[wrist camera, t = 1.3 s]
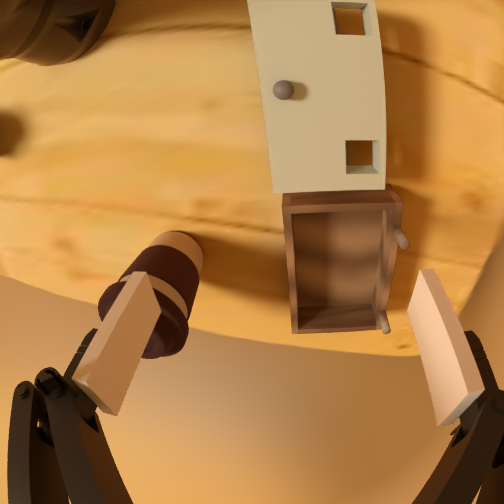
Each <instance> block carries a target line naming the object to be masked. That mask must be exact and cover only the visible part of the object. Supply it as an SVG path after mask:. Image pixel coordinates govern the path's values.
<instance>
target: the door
mask: <svg viewBox="0 0 504 504" xmlns="http://www.w3.org/2000/svg"><path fill="white" fill-rule="evenodd" d="M247 4H248V10H249V16H250V22H251V29H252V35H253V41H254V48H255V55H256V61H257V68H258V75H259V82H260V89H261V97H262V104H263V112H264V119H265V127H266V135H267V143H268V151H269V159H270V167H271V176H272V185H273V193H274V194H278V193H295V192H315V191H341V190H385V178H386V101H385V83H384V69H383V58H382V48H381V40H380V32H379V25H378V18H377V12H376V6H375V0H247ZM332 8H350V9H361V10H362V17H363V23H364V30H365V35H336V32H335V25H334V18H333V12H332ZM345 140H372V144H373V162H372V165H346V150H345Z"/></svg>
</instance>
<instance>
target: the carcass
mask: <svg viewBox="0 0 504 504" xmlns="http://www.w3.org/2000/svg"><path fill="white" fill-rule="evenodd" d="M402 210H403V202H402V200H401V199H400V197H399V196H398V195H397V193H396V192H395V191H394V189H393V188H392V187H391V185H390V184H385V190H341V191H315V192H295V193H283V199H282V213H283V224H284V235H285V246H286V258H287V270H288V283H289V297H290V311H291V326H292V334H305V333H331V332H350V331H365V330H378V329H382V331H383V334H388V333H390V332H391V329H390V325H389V322H388V318H387V314H386V308H387V303H388V299H389V294H390V289H391V284H392V279H393V273H394V267H395V261H396V255H397V249H398V243H399V245H400V247H401V249H402V250H406V249H408V248H409V247H410V243H409V241H408V239H407V237H406V235H405V234H404V232H403V230H402V228H401V219H402Z"/></svg>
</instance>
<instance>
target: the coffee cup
mask: <svg viewBox="0 0 504 504" xmlns="http://www.w3.org/2000/svg"><path fill="white" fill-rule="evenodd" d="M202 266H203V253H202V250H201V248H200V246H199V245H198V244H197V242H196V241H195V240H194V239H192V238H191V237H190V236H188V235H186V234H184V233H181V232H176V231H170V232H165V233H162V234H161V235H159V236H158V237H157V238H156V239H155V240H154V241H153V242H152V243H151V245H150V246H149V247H148V248H146V249H145V250H144V251H142V252H141V254H140V255H139V256H138V257H137V258H136V259H135V261H134V262H133V263H132V264H131V265H130V266H129V268H128V269H127V270H126V271H125V272H124V274H123V275H122V276H121V277H120V279H119V280H118V282H116V283H114V284H112V285H111V286H109V287H108V288H107V289H106V290H105V292H104V293H103V295H102V296H101V298H100V300H99V303H98V311H99V316H100V318H101V321H102V322H103V320H104V318H105V317H106V315H107V313H108V312H109V310H110V308H111V307H112V305H113V303H114V302H115V300H116V298H117V297H118V295H119V294H120V292H121V290H122V289H123V287H124V286H125V284H126V282H127V281H128V279H129V278H130V276H131V275H132V273H133V272H146V273H147V275H148V278H149V281H150V283H151V286H152V289H153V291H154V294H155V296H156V299H157V301H158V304H159V306H160V309H161V313H160V316H159V318H158V320H157V322H156V324H155V327H154V329H153V331H152V333H151V336H150V338H149V340H148V343H147V345H146V347H145V349H144V352H143V354H142V356H141V358H145V359H154V358H159V357H165V356H171V355H174V354H176V353H178V352H179V351H180V350H181V349H182V348H183V347H184V345H185V342H186V339H187V336H188V332H189V331H188V330H189V327H188V322H187V321H188V319H189V317H190V313H191V310H192V306H193V303H194V299H195V296H196V292H197V289H198V285H199V276H200V273H201V269H202Z"/></svg>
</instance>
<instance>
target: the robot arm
mask: <svg viewBox="0 0 504 504" xmlns="http://www.w3.org/2000/svg"><path fill="white" fill-rule="evenodd" d="M114 5H115V0H0V60H4V59H9V58H16V59H19V60H22V61H26V62H29V63H33V64H36V65H40V66H52V65H59V64H64V63H67V62H70V61H72V60H74V59H76V58H77V57H79V56H80V55H82V54H83V53H84V52H85V51H87V50H88V49H89V48H90V47H91V46H92V45H93V44H94V42H95V41H96V40H97V39H98V37H99V36H100V35H101V33H102V32H103V30H104V28H105V27H106V25H107V23H108V21H109V19H110V16H111V14H112V11H113V8H114ZM160 313H161V309H160V306H159V304H158V301H157V299H156V296H155V294H154V291H153V289H152V286H151V283H150V281H149V278H148V275H147V273H146V272H133V273H132V275H131V276H130V278H129V279H128V281H127V282H126V284H125V286H124V287H123V289H122V290H121V292H120V294H119V295H118V297H117V298H116V300H115V302H114V303H113V305H112V307H111V308H110V310H109V312H108V313H107V315H106V317H105V318H104V320H103V322H102V324H101V325H100V327H99V329H94V328H93V329H92V330H91V331H90V332H89V333H88V334H87V335H86V336H85V338H84V340H83V341H82V343H81V346H80V347H79V348H78V350H77V353H76V354H75V355H74V357H73V359H72V361H71V363H70V364H69V366H68V368H67V370H66V372H65V374H64V376H63V377H62V376H61V375H60V374H59V372H58V371H57V370H56V369H54V368H52V367H48V368H44V369H43V370H41V371H40V372H39V373H38V374H37V376H36V378H35V383H34V385H35V386H36V387H35V386H34V385H33V384H32V383H31V382H29V381H23V382H21V383H20V384H18V385H17V387H16V389H15V391H14V395H13V402H12V409H11V418H10V427H9V440H8V467H7V473H8V474H7V475H8V476H7V479H8V503H9V504H69V499H70V501H71V504H133V502H132V500H131V498H130V496H129V494H128V492H127V489H126V487H125V485H124V483H123V481H122V478H121V476H120V474H119V471H118V469H117V467H116V464H115V462H114V459H113V457H112V454H111V452H110V449H109V446H108V444H107V441H106V438H105V436H104V432H103V430H102V427H101V424H100V421H99V417H98V415H97V413H96V412H95V410H96V408H97V406H98V407H99V408H100V409H101V410H102V411H103V412H104V413H107V414H111V415H114V416H117V415H118V413H119V410H120V408H121V405H122V402H123V400H124V398H125V395H126V393H127V390H128V387H129V385H130V383H131V380H132V378H133V375H134V373H135V371H136V368H137V366H138V363H139V361H140V358H141V356H142V354H143V352H144V349H145V347H146V345H147V343H148V340H149V338H150V336H151V333H152V331H153V329H154V327H155V324H156V322H157V320H158V318H159V316H160ZM407 313H408V316H409V319H410V322H411V325H412V328H413V332H414V335H415V338H416V341H417V345H418V348H419V352H420V355H421V358H422V362H423V366H424V370H425V374H426V378H427V382H428V386H429V390H430V394H431V398H432V403H433V408H434V412H435V417H436V423H437V427H440V426H444V425H448V424H452V423H454V422H455V421H456V420H457V419H458V418H460V422H461V424H460V425H459V426H457V428H455V429H454V430H453V431H452V432H451V434H450V435H453V434H454V433H455V434H454V436H453V438H452V440H451V442H450V444H449V446H448V447H447V449H446V451H445V453H444V454H443V456H442V458H441V460H440V461H439V463H438V465H437V467H436V468H435V470H434V472H433V473H432V475H431V476H430V478H429V479H428V481H427V482H426V484H425V485H424V487H423V488H422V490H421V492H420V493H419V494H418V496H417V497H416V499H415V500H414V501H413V503H412V504H471V503H472V502H473V500H474V498H475V496H476V494H477V493H478V491H479V489H480V487H481V489H480V492H479V496H478V499H477V502H476V504H504V391H503V390H499V388H498V386H497V383H496V380H495V378H494V374H493V372H492V369H491V366H490V364H489V361H488V359H487V356H486V354H485V351H483V346H482V344H481V342H480V339H479V338H478V337H477V336H476V334H475V333H474V332H473V331H463V329H462V327H461V324H460V322H459V320H458V318H457V315H456V313H455V311H454V309H453V307H452V305H451V302H450V300H449V298H448V296H447V294H446V292H445V290H444V288H443V286H442V284H441V282H440V280H439V278H438V276H437V274H436V273H435V271H434V269H420V270H419V274H418V277H417V281H416V284H415V288H414V291H413V294H412V297H411V300H410V304H409V307H408V310H407ZM38 422H39V426H38V427H37V423H38ZM481 485H482V486H481ZM68 496H69V497H68Z"/></svg>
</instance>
